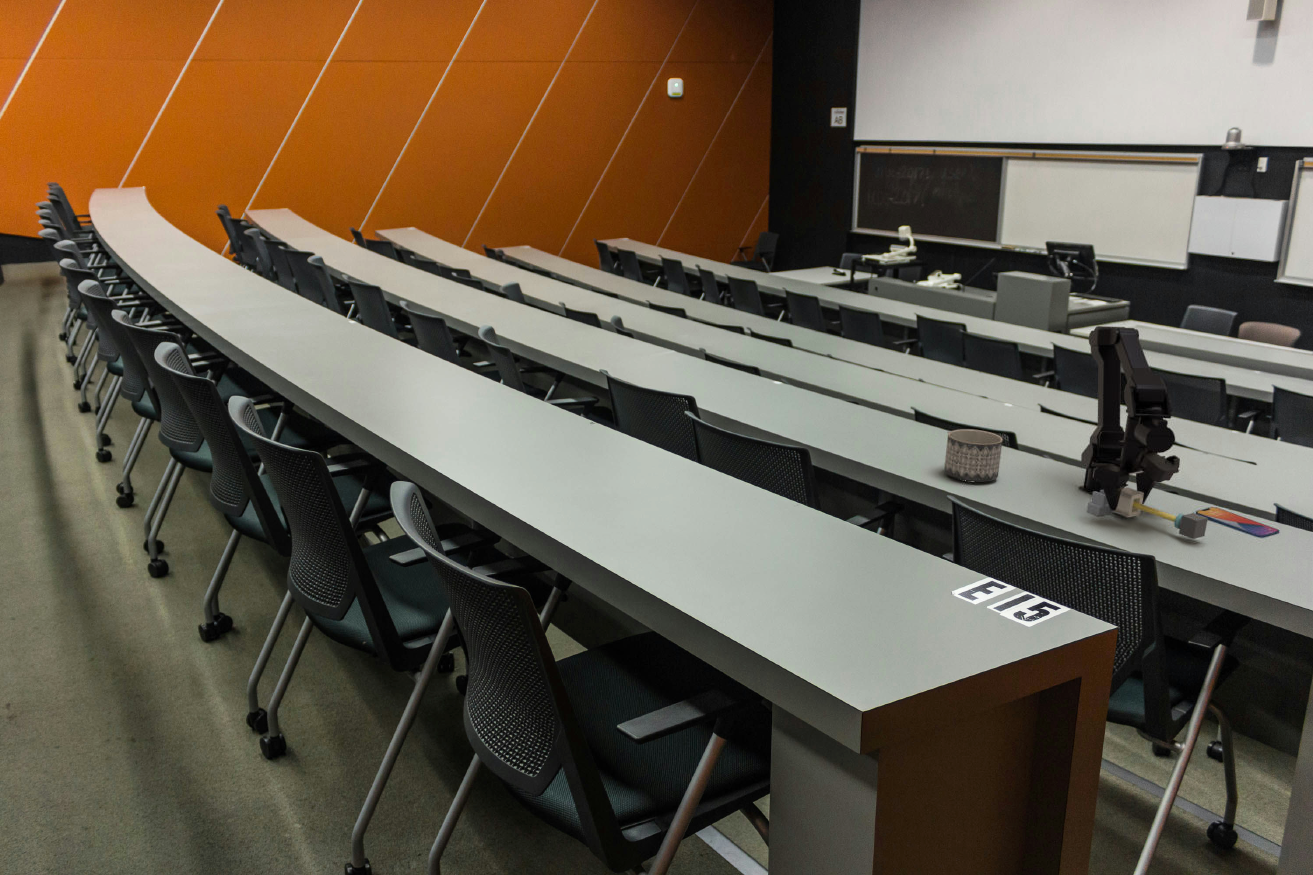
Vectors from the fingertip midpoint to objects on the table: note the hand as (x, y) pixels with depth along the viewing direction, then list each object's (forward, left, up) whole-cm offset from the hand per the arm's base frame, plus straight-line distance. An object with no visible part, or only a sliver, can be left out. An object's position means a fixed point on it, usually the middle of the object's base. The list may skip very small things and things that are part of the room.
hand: (1127, 506), depth 209 cm
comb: (-4, 0, -2) cm, 5 cm away
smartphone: (+13, +19, -3) cm, 23 cm away
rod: (+4, 0, 0) cm, 4 cm away
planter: (-35, -11, -3) cm, 37 cm away
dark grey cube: (+15, 0, -1) cm, 15 cm away
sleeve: (0, 0, -2) cm, 2 cm away
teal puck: (+13, 0, 0) cm, 13 cm away
